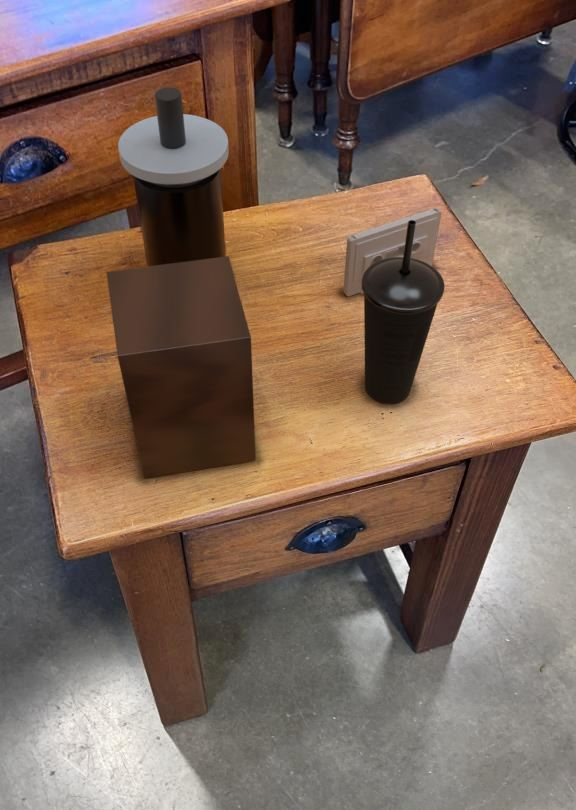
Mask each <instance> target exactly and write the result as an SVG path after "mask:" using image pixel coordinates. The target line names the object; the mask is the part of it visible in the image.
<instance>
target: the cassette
mask: <svg viewBox="0 0 576 810" xmlns="http://www.w3.org/2000/svg"><path fill="white" fill-rule="evenodd" d="M441 218H442V211H440V210H439V209H438V207H434V208H431V209H428V210H425V211H422V212H419V213H416V214H413V215H409V216H406V217H403V218H400V219H397V220H394V221H391V222H388V223H385V224H382V225H379V226H376V227H373V228H370V229H367V230H363V231H360V232H357V233H354V234H351V235H349V236H348V237H347V239H346V247H345V248H346V250H345V260H344V276H343V286H342V287H343V288H342V292H343V293H344V295H346V296H347V297H351V296H352V297H353V296H354V295H357V294H360V295H364V293H363V290H362V285H361V283H362V277H363V274H364V272H365V271H366V270H367V268H368V267H369V266H371V265H372V264H374V263H375V262H377V261H380V260H383V259H386V258H392V257H403V254H404V248H405V241H406V234H407V227H408V221H410V220H414V221H415V222H416V226H415V233H414V239H413V246H412V252H411V258H413V259H417V260H420V261H423V262H425V263H427V264H429V265H431V266H432V267H433V264H434V257H435V251H436V247H437V241H438V237H439V236H438V235H439V230H440V224H441Z"/></svg>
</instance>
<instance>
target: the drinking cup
mask: <svg viewBox="0 0 576 810" xmlns="http://www.w3.org/2000/svg"><path fill="white" fill-rule="evenodd" d="M415 226H416V222H415V221H414V220H410V221H408V227H407V234H406V241H405V248H404V254H403V257H392V258H386V259H383V260H380V261H377V262H375V263H374V264H372V265H371V266H369V267H368V268H367V270H366V271H365V272H364V274H363V277H362V283H361V285H362V290H363V297H364V299H363V302H364V303H363V305H364V307H363V311H364V312H363V313H364V314H363V315H364V317H363V318H364V319H363V320H364V321H363V323H364V326H363V327H364V330H363V331H364V333H363V334H364V390H365V392H366V395H368V397H369V398H371V400H373V401H375V402H377V403H379V404H385V405H394V404H395V405H396V404H399V403H402V402H404V401H405V400H406V399H407V398H408V397H409V396H410V393H411V390H412V388H413V384H414V382H415V381H414V380H415V377H416V375H417V371H418V368H419V364H420V361H421V358H422V355H423V352H424V349H425V345H426V343H427V339H428V335H429V333H430V329H431V326H432V323H433V320H434V316H435V314H436V309H437V307H438V303H440V302H441V300H442V299H443V296H444V294H445V293H444V292H445V280H444V278H443V276H442V275H441V273H440V271H438V269H436V268H435V267H434V266H433V265H432V266H431V265H429V264H427V263H425V262H423V261H420V260H417V259H413V258H411V252H412V246H413V239H414V233H415Z"/></svg>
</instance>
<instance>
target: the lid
mask: <svg viewBox="0 0 576 810" xmlns="http://www.w3.org/2000/svg"><path fill="white" fill-rule="evenodd" d="M154 102H155V110H156V111H155V112H156V115H155V116H151V117H147V118H145V119H142V120H140V121H137V122H136V123H134V124H132V125H130V126H129V127H128V128H127V129H126V130H125V131H124V132H123V133H122V134H121V135H120V137H119V140H118V144H117V150H118V155H119V161H120V163H121V165H122V167H123V168H124V169H125V170H126V172H128V173H129V174H130V175H132V177H133V176H135V177H137V178H139V179H142V180H145V181H148V182H152V183H158V184H183V183H189V182H194V181H197V180H201V179H203V178H206V177H208V176H210V175H212V174H214V173H215V172H217V171H218V170H219V169H220V170H221V168H222V167H224V165H225V164H226V162H227V160H228V158H229V154H230V151H229V150H230V148H229V138H228V135H227V132H226V131H225V129H224V128H222V127H221V126H220V125H219V124H217V123H216V122H214V121H213V120H210V119H208V118H205V117H202V116H198V115H194V114H187V113H185V114H184V106H183V96H182V92H181V90H180V89H179V88H176V87H171V86H167V87H161V88H159V89H157V90H156V91H155V92H154Z"/></svg>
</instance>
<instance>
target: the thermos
mask: <svg viewBox="0 0 576 810" xmlns="http://www.w3.org/2000/svg"><path fill="white" fill-rule="evenodd" d="M221 171H222V170H221V168H220V169H219V170H218V171H217V172H215V173H214V174H212V175H210V176H208V177H206V178H203V179H201V180H197V181H194V182H189V183H183V184H158V183H152V182H148V181H145V180H142V179H139V178H137V177H135V176H133V175H132V180H133V185H134V192H135V199H136V203H137V205H136V206H137V211H138V217H139V218H138V219H139V224H140V228H141V236H142V243H143V248H144V255H145V262H146V267H148V266H156V265H164V264H171V263H179V262H187V261H195V260H203V259H211V258H218V257H226V256H227V250H226V249H227V248H226V234H225V220H224V219H225V218H224V203H223V188H222V187H223V186H222V174H221V173H222V172H221Z"/></svg>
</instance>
